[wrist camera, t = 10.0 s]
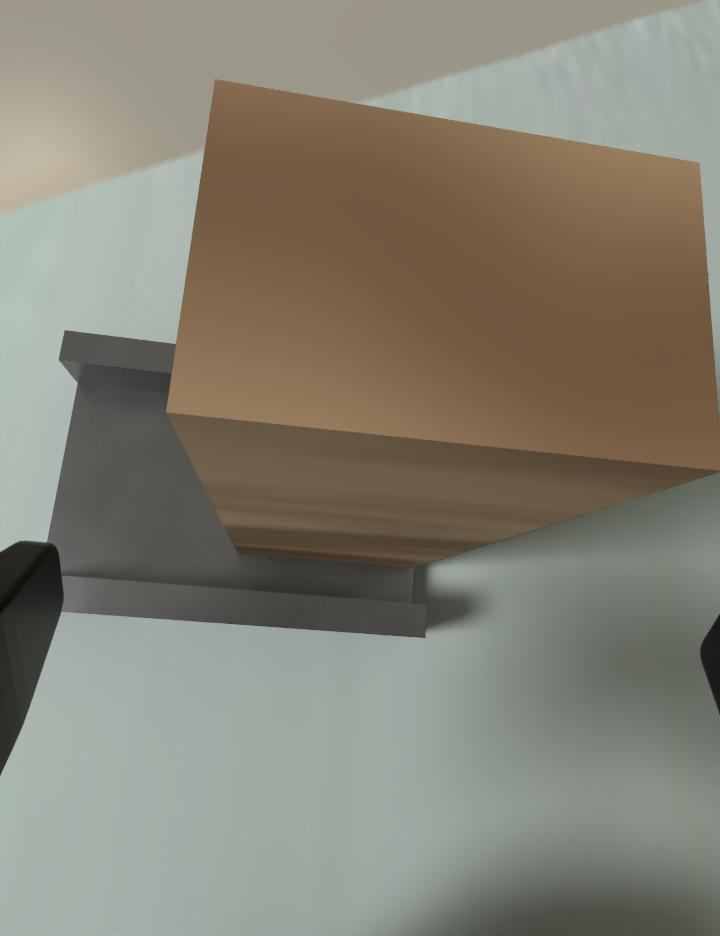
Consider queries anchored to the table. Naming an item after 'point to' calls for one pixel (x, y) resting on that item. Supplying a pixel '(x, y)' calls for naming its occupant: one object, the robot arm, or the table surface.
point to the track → (182, 519)
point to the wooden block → (434, 330)
